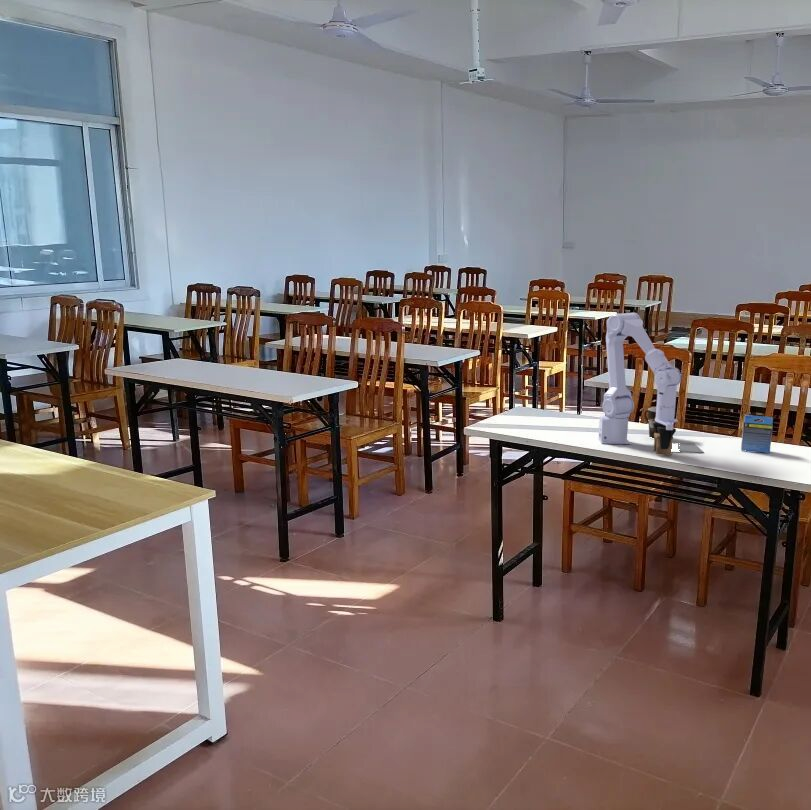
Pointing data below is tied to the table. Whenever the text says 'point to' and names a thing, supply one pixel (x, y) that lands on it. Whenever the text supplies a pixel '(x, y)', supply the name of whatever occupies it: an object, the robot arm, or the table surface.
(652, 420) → the coffee mug
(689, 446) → the mat
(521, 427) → the table surface
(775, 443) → the table surface
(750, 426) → the label tape box
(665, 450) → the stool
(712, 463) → the table surface
